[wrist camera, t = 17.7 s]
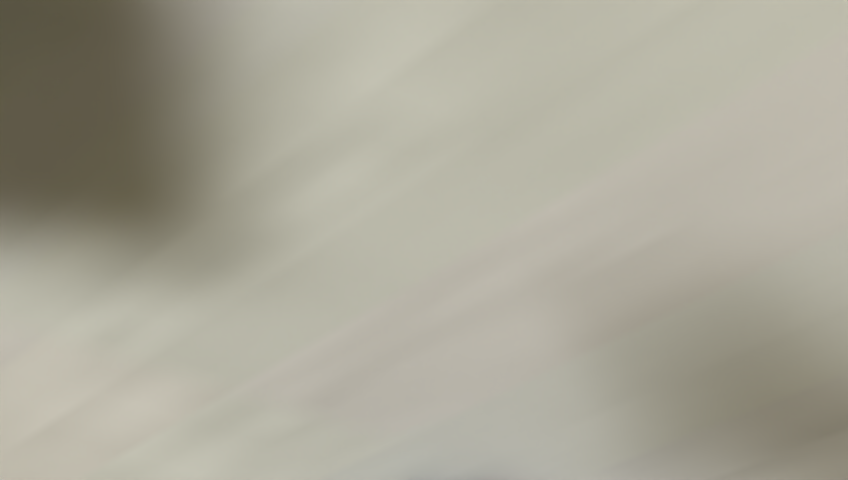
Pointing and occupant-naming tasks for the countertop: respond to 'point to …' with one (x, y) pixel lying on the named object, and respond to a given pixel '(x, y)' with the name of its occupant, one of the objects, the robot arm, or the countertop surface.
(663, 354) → the countertop surface
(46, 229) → the countertop surface
